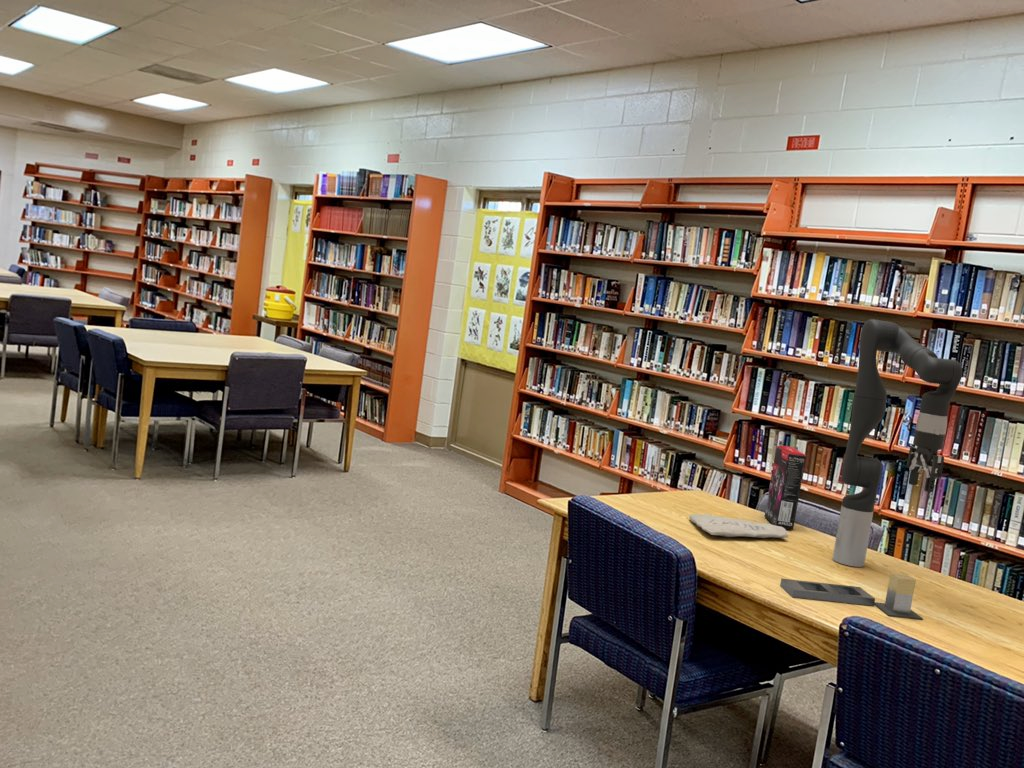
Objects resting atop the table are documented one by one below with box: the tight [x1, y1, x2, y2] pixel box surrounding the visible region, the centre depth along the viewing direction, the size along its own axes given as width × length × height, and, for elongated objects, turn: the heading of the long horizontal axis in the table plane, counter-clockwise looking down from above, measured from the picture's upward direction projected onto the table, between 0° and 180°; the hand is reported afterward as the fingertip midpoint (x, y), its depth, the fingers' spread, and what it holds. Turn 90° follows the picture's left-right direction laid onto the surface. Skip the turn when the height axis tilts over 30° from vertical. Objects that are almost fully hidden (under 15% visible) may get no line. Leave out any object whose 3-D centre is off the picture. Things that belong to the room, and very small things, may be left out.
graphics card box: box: [764, 445, 807, 531], centre depth 307 cm, size 17×7×27 cm, turn 178°
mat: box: [874, 601, 924, 621], centre depth 224 cm, size 9×9×1 cm
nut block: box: [885, 572, 916, 614], centre depth 223 cm, size 4×4×9 cm
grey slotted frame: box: [779, 578, 876, 607], centre depth 230 cm, size 9×22×2 cm, turn 92°
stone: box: [689, 513, 789, 539], centre depth 286 cm, size 25×5×30 cm
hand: (920, 488), depth 238 cm, fingers open, 8 cm apart
